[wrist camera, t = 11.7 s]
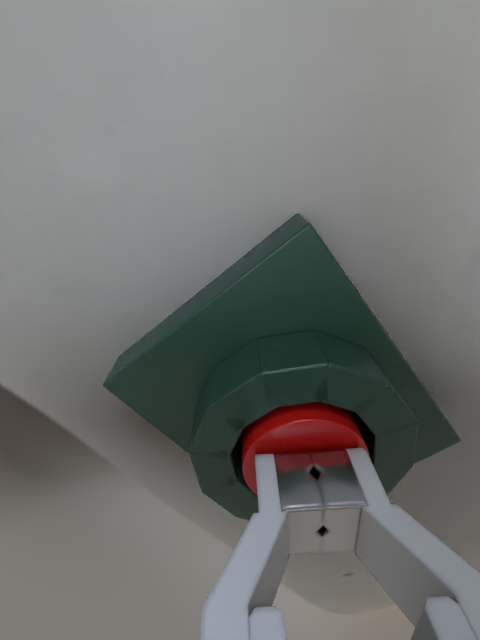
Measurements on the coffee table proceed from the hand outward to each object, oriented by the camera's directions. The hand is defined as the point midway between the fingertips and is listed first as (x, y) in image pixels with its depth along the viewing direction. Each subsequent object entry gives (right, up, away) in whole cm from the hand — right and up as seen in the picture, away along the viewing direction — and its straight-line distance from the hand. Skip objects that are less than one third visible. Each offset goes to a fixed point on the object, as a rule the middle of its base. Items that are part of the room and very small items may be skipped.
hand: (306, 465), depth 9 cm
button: (0, +1, +2) cm, 2 cm away
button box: (0, +2, +3) cm, 4 cm away
